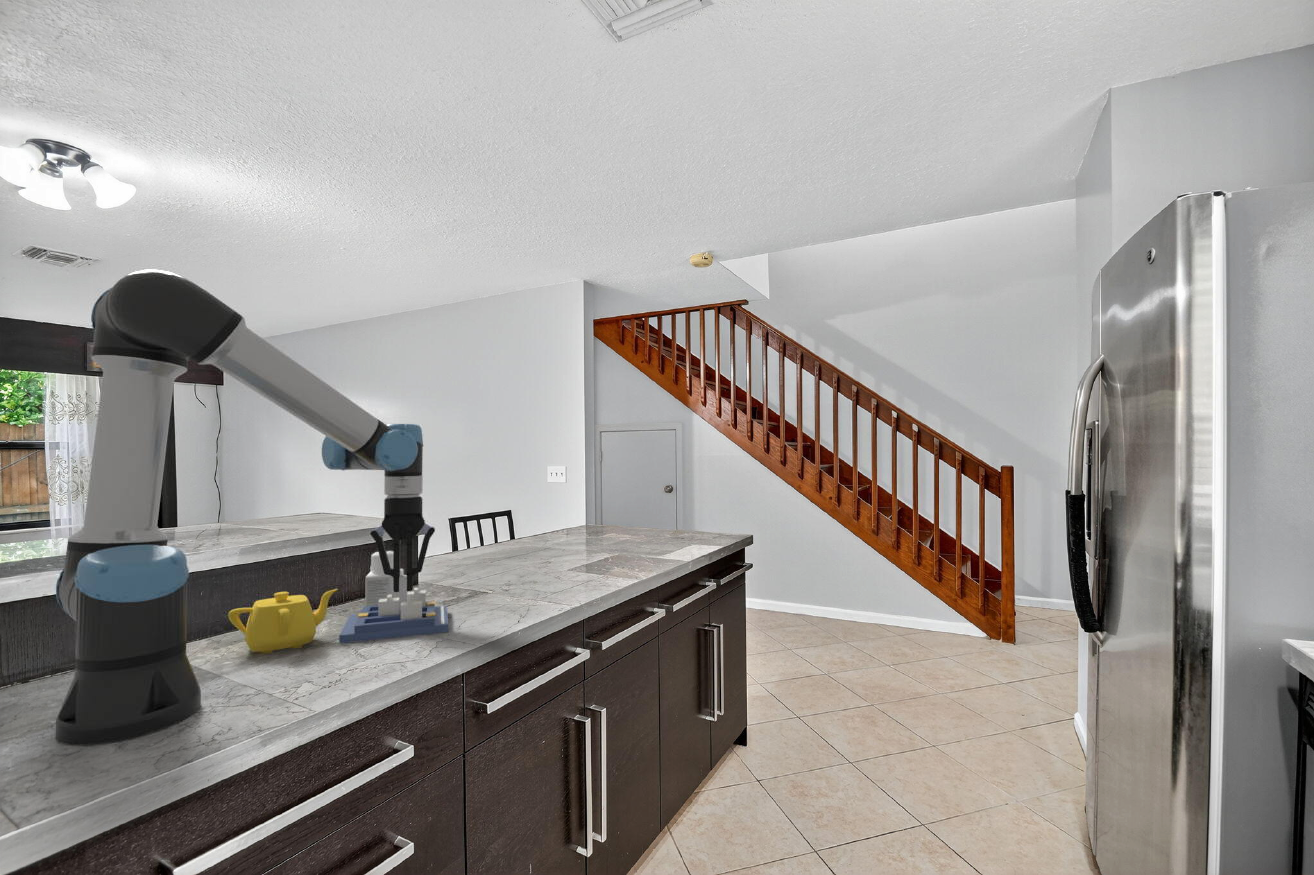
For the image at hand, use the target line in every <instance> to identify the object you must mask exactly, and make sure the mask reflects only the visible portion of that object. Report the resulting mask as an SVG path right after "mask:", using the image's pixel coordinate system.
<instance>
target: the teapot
mask: <svg viewBox="0 0 1314 875" xmlns="http://www.w3.org/2000/svg"><path fill="white" fill-rule="evenodd" d="M337 590H338V588H335V589H331V590H328V591H326V592H324V593H323V594H322V596H321V599H320V603H319V606H318V608H317V610H315V611H313V609H312V605H311V604H310V601H309V599H308V597H307V596H306V595H304V594H296V595H295V594H294V595H289V594H290V592H288V591H280V592H275V593H274V594H273V596H274V597H272V598H264V599H258V600H256V601H255V602H253V604H252V607H238V608H234V609H231V610H230V611H229V612H228V614H227V616H228V617H227V618H228V619H229V621H230V622H231V624H232V625H233V626H234V627H235V628H236V629H238V630H239V631H240V632H241V633H243V634H244V637H245V638H244V640H245V643H246V645H247V647H248V649H249V650H250V652H252V653H260V654H261V655H268V654H271V653H273V652H274V651H278V650H283V649H284V650H285V649H289V648H290V649H293V650H294V649H295V650H296V649H301V648H303V646H304V645H307V644H310V643H312V642H313V640H314V638H315V635H316V632H317V629H316V627H318V626H319V625H320V624H321V623H322V622H323V621H324V619H325V618H326V615H327V611H328V603H329V600H330V598H331V596H332V595H333V594H334V593H335V592H336V591H337ZM245 613H249V616H248V618H247V623H246V627H245V625H244V624H243V622H242V620H241V619H240V615H241V614H245Z"/></svg>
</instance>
